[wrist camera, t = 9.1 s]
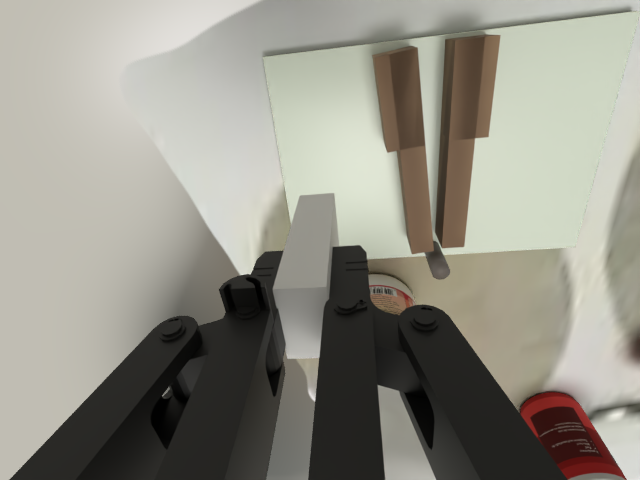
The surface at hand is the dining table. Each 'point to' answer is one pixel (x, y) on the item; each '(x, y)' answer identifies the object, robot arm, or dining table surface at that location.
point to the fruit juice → (397, 397)
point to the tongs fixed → (461, 135)
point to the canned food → (569, 437)
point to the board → (489, 153)
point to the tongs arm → (406, 138)
